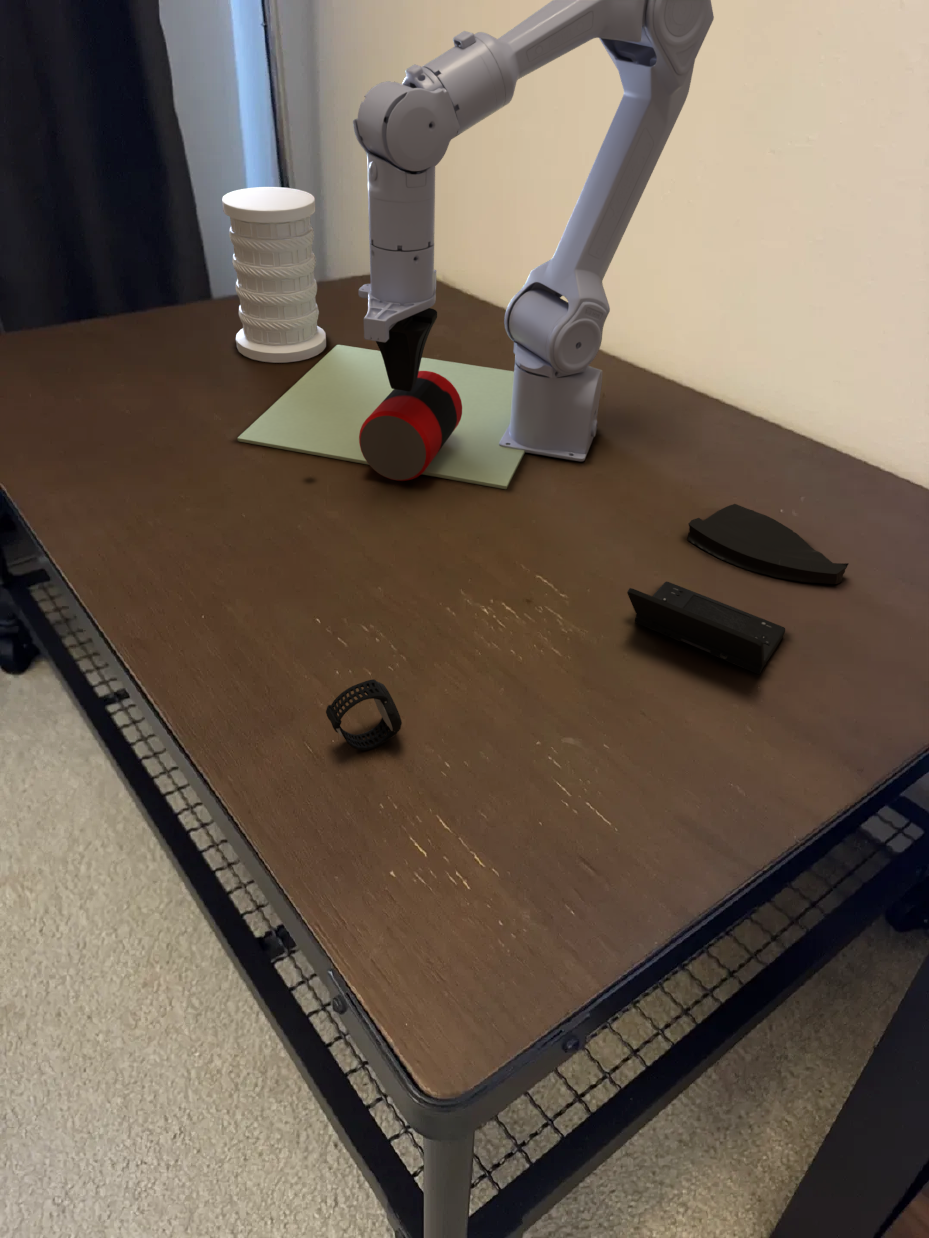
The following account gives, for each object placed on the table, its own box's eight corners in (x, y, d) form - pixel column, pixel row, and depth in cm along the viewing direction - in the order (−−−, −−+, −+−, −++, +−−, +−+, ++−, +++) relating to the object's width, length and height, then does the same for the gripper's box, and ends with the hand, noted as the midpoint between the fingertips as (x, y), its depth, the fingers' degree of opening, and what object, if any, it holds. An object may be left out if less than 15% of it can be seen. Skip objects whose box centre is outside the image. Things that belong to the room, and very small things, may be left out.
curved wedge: (806, 607, 78) (811, 592, 77) (681, 538, 86) (684, 524, 85) (856, 571, 83) (861, 557, 82) (733, 509, 90) (736, 495, 89)
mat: (561, 381, 113) (561, 378, 113) (506, 489, 92) (506, 486, 92) (337, 347, 119) (337, 344, 119) (237, 441, 98) (237, 437, 98)
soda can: (417, 408, 86) (456, 361, 95) (347, 416, 89) (392, 370, 98) (437, 480, 90) (473, 428, 99) (370, 485, 93) (411, 434, 102)
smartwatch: (402, 759, 63) (402, 707, 60) (327, 761, 62) (323, 709, 59) (400, 717, 66) (400, 665, 63) (329, 719, 65) (325, 667, 62)
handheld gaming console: (791, 605, 75) (789, 562, 66) (773, 687, 74) (768, 654, 65) (655, 582, 80) (636, 539, 71) (635, 659, 78) (614, 625, 70)
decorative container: (320, 364, 114) (310, 214, 103) (228, 361, 114) (208, 209, 103) (331, 330, 123) (323, 188, 112) (246, 326, 123) (230, 184, 112)
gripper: (387, 215, 86) (389, 353, 94) (327, 260, 75) (335, 412, 83) (458, 224, 84) (454, 363, 93) (408, 271, 73) (408, 424, 82)
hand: (402, 387), depth 88 cm, fingers closed
